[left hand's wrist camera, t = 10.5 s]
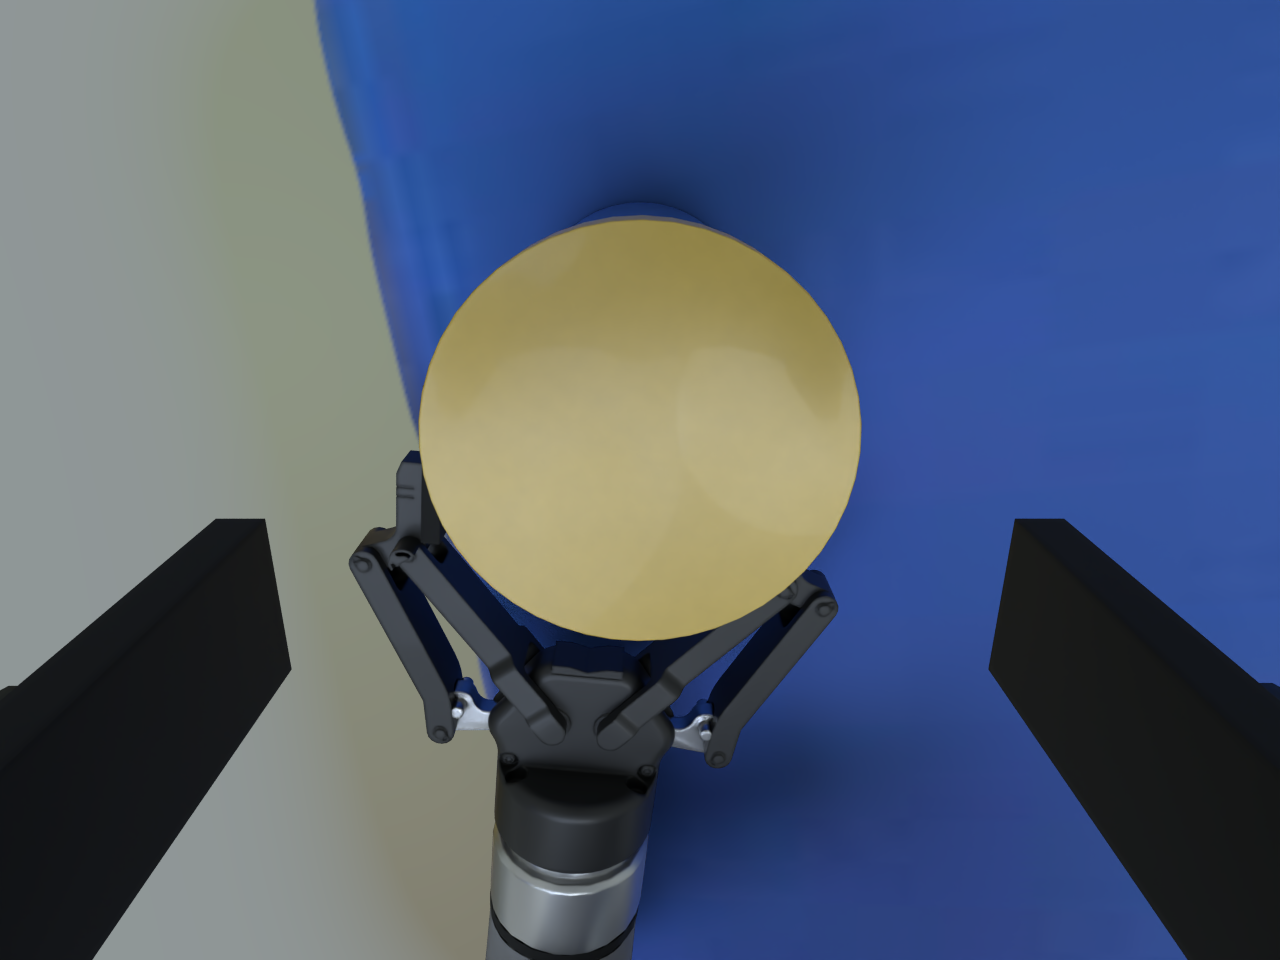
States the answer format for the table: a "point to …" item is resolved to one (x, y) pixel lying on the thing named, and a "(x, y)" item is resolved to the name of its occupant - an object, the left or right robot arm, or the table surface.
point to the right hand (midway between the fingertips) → (615, 395)
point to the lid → (639, 428)
